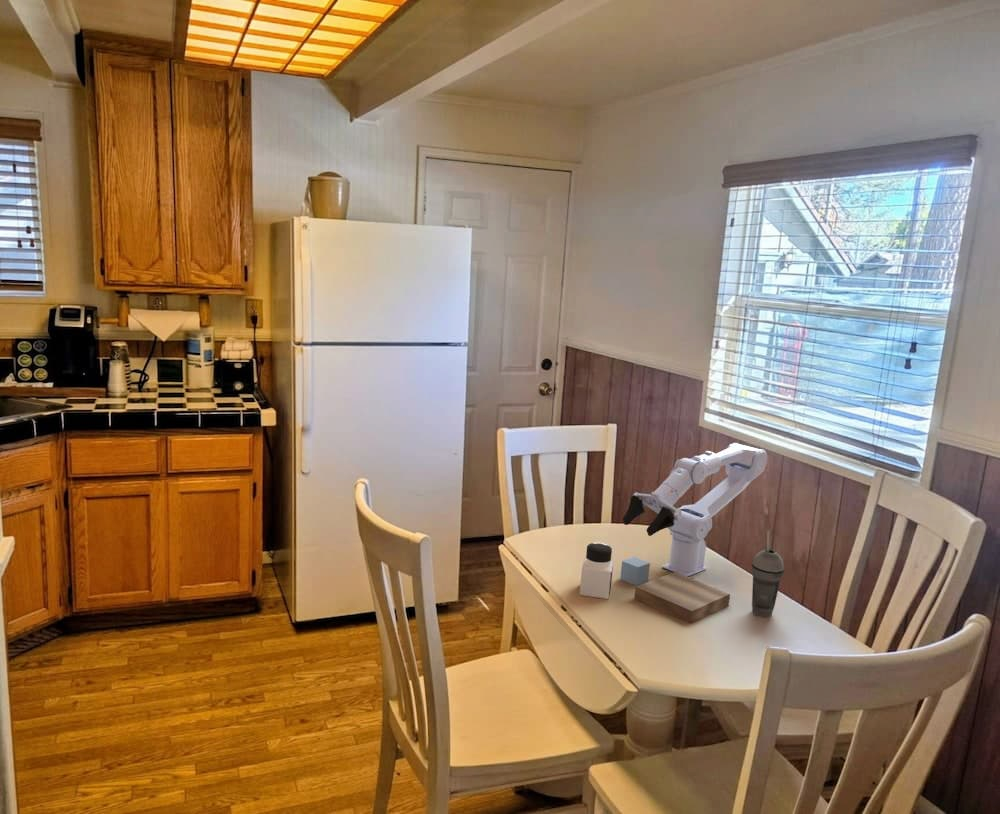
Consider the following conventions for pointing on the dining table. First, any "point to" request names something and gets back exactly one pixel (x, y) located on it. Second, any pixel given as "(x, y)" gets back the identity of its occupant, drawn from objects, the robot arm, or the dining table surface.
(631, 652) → the dining table surface
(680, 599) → the walnut plinth
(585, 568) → the medicine bottle
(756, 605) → the beverage cup
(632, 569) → the slate block
